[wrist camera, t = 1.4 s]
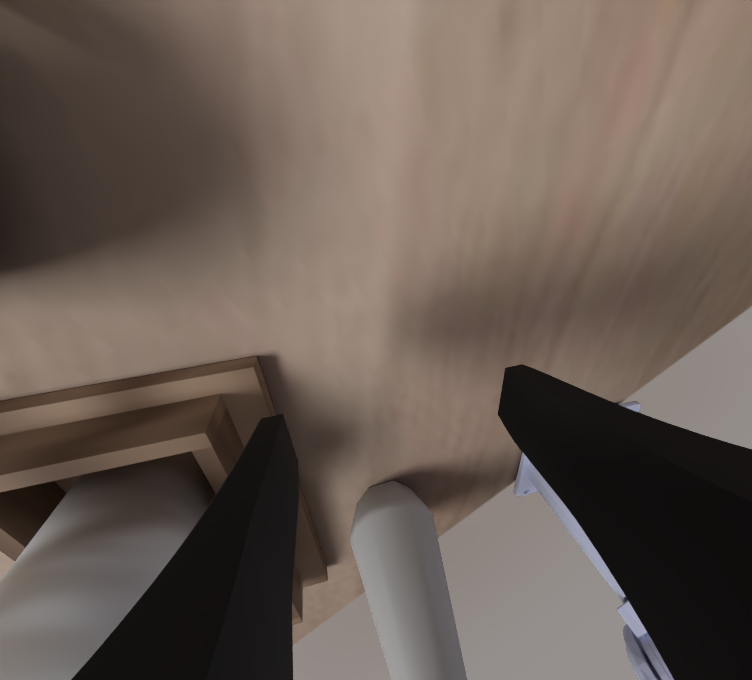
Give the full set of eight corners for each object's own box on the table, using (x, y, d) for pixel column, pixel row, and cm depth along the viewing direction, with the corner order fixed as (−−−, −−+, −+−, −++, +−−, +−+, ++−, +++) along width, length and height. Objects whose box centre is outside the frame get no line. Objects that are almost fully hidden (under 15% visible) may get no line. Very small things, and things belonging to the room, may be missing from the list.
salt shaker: (433, 495, 23) (555, 789, 12) (375, 532, 24) (438, 843, 13) (395, 461, 20) (510, 806, 9) (330, 503, 21) (360, 875, 10)
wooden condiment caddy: (256, 356, 14) (200, 560, 7) (326, 566, 25) (337, 743, 17) (-60, 411, 12) (-660, 790, 5) (159, 614, 23) (84, 838, 15)
